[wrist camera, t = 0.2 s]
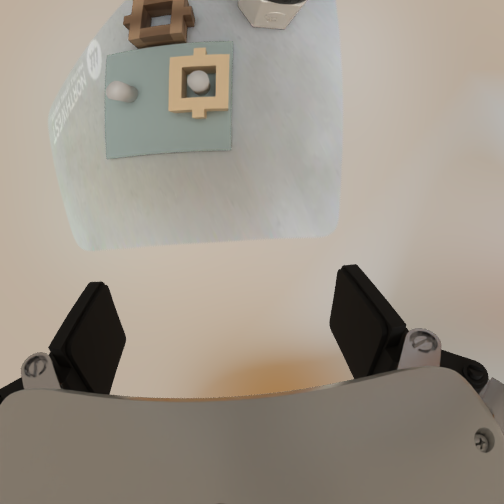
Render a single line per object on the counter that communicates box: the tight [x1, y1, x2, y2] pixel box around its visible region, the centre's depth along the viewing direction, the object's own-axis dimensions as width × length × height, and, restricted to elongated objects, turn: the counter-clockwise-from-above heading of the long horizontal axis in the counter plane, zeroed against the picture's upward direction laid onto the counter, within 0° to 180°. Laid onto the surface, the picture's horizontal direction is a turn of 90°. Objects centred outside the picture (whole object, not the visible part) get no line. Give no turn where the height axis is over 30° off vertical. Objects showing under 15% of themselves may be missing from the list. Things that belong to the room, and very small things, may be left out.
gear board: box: [105, 41, 233, 159], centre depth 29 cm, size 16×18×8 cm
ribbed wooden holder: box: [123, 0, 195, 49], centre depth 25 cm, size 7×9×5 cm
